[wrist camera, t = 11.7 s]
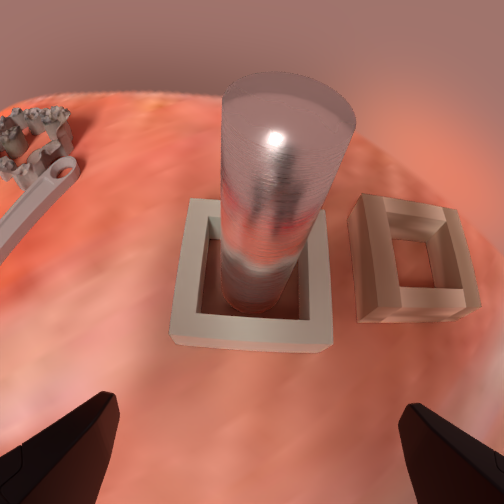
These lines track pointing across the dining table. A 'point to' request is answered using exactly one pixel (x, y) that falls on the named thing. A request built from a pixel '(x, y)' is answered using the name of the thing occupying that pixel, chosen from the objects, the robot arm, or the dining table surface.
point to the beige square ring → (385, 271)
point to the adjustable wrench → (35, 203)
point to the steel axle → (274, 178)
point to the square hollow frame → (248, 328)
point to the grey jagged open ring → (14, 142)
